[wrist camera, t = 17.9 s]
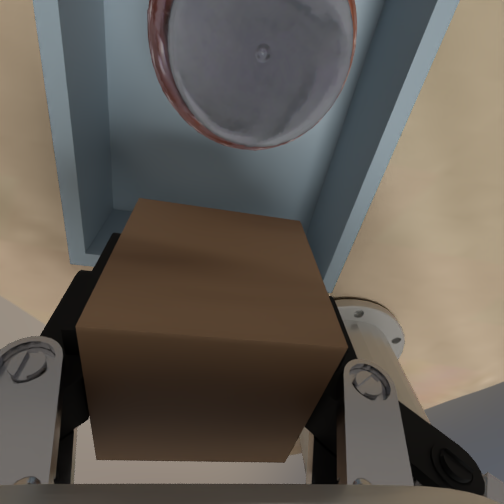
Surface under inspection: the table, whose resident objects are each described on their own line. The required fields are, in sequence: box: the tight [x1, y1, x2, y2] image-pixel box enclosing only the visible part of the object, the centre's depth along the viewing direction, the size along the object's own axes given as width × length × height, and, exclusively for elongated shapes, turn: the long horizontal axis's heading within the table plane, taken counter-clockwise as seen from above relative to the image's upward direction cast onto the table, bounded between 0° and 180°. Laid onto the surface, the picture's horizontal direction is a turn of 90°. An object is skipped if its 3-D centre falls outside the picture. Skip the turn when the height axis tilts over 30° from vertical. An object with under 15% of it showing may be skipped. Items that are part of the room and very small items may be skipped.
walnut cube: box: [75, 198, 348, 463], centre depth 9 cm, size 5×5×5 cm
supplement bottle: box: [147, 0, 357, 151], centre depth 11 cm, size 6×6×11 cm
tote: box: [33, 0, 460, 293], centre depth 16 cm, size 18×15×6 cm
